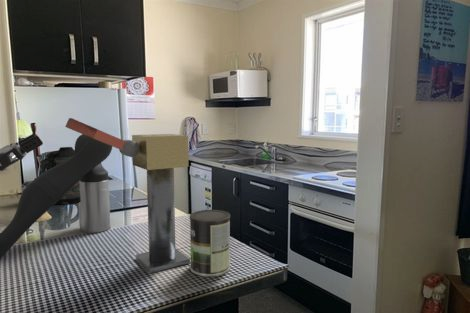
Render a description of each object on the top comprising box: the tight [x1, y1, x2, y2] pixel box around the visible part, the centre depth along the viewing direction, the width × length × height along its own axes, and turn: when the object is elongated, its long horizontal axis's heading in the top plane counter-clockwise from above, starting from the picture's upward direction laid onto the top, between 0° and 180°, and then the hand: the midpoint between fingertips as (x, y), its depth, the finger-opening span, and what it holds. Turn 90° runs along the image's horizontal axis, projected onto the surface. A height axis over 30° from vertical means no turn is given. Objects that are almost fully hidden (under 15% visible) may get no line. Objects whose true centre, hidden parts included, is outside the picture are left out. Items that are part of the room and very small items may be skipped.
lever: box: [65, 117, 140, 158], centre depth 84 cm, size 17×4×4 cm, turn 123°
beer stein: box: [39, 146, 81, 205], centre depth 162 cm, size 16×19×25 cm
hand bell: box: [33, 177, 52, 223], centre depth 133 cm, size 8×8×16 cm
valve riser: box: [131, 133, 191, 274], centre depth 93 cm, size 11×11×34 cm
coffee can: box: [189, 209, 231, 278], centre depth 90 cm, size 10×10×14 cm
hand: (38, 138), depth 78 cm, fingers open, 8 cm apart
